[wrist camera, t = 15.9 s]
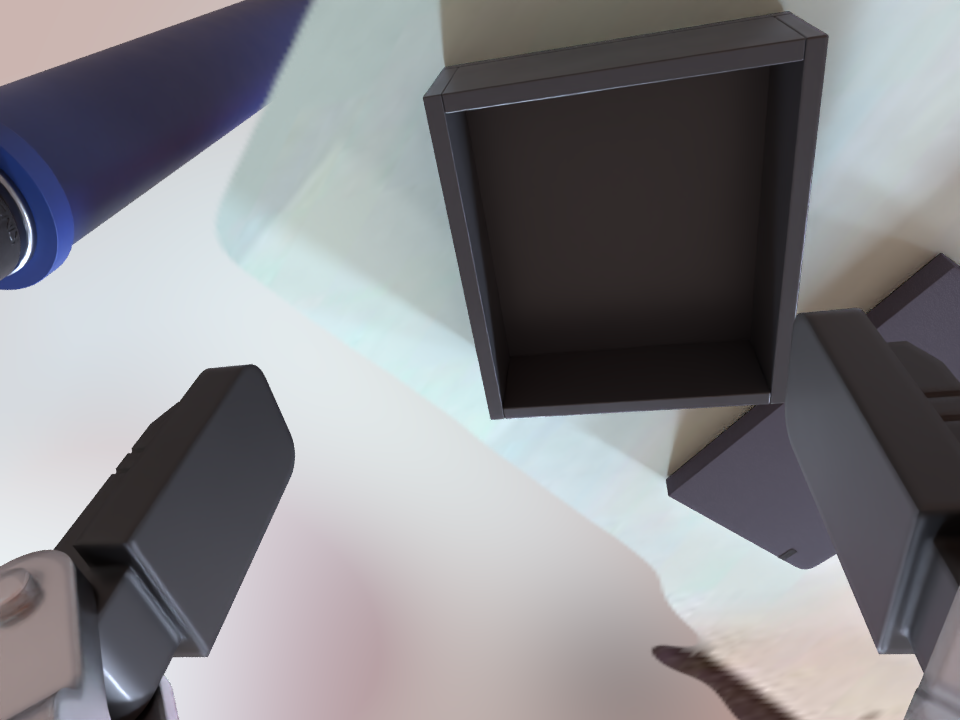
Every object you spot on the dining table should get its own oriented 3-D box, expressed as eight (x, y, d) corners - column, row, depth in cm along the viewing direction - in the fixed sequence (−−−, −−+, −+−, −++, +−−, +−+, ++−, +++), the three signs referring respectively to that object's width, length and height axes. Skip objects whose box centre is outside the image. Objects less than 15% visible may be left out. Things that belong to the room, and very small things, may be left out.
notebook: (941, 251, 34) (665, 479, 46) (955, 265, 33) (667, 496, 45) (1096, 368, 37) (799, 555, 49) (1115, 385, 36) (805, 573, 48)
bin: (499, 362, 42) (490, 420, 37) (443, 67, 32) (422, 97, 27) (761, 343, 39) (786, 403, 34) (789, 10, 29) (829, 34, 24)
